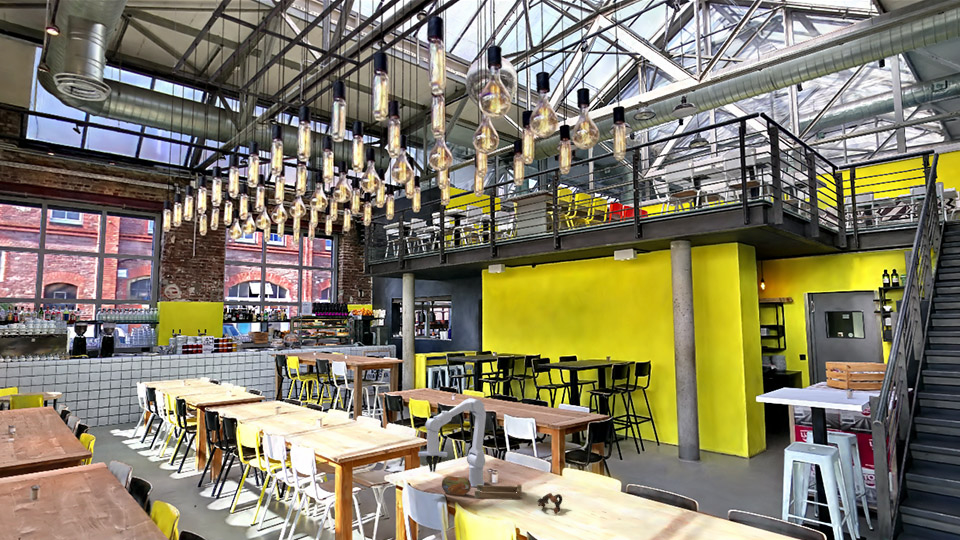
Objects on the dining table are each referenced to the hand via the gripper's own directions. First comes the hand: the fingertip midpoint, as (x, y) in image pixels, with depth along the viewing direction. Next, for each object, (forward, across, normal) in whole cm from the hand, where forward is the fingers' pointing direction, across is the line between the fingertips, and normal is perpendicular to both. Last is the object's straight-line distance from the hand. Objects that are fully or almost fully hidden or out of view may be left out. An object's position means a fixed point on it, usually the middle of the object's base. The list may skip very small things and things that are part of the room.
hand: (432, 471), depth 263 cm
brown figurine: (+11, +58, -19) cm, 62 cm away
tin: (+11, +12, 0) cm, 16 cm away
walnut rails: (+10, +32, 0) cm, 34 cm away
